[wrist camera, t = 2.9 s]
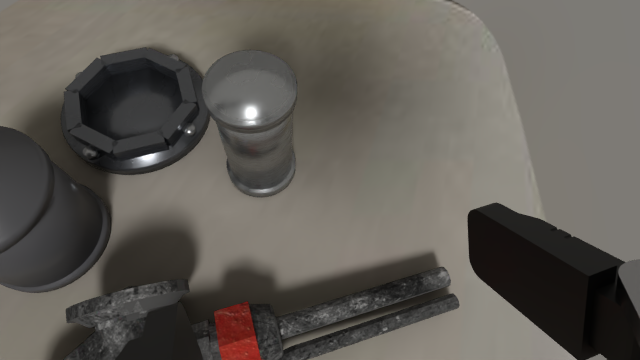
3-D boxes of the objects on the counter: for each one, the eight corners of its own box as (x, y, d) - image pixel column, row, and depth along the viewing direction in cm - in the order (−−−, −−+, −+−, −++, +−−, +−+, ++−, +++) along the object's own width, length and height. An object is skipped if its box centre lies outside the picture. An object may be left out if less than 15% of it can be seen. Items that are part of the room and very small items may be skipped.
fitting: (237, 206, 28) (212, 133, 19) (221, 148, 30) (192, 57, 21) (303, 187, 29) (309, 110, 20) (284, 132, 31) (281, 39, 22)
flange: (73, 191, 28) (56, 178, 26) (63, 75, 32) (48, 57, 30) (224, 153, 30) (219, 139, 28) (196, 50, 34) (190, 30, 32)
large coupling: (-10, 309, 24) (-139, 286, 17) (-8, 202, 27) (-117, 143, 20) (117, 272, 26) (48, 236, 18) (105, 174, 29) (42, 110, 21)
